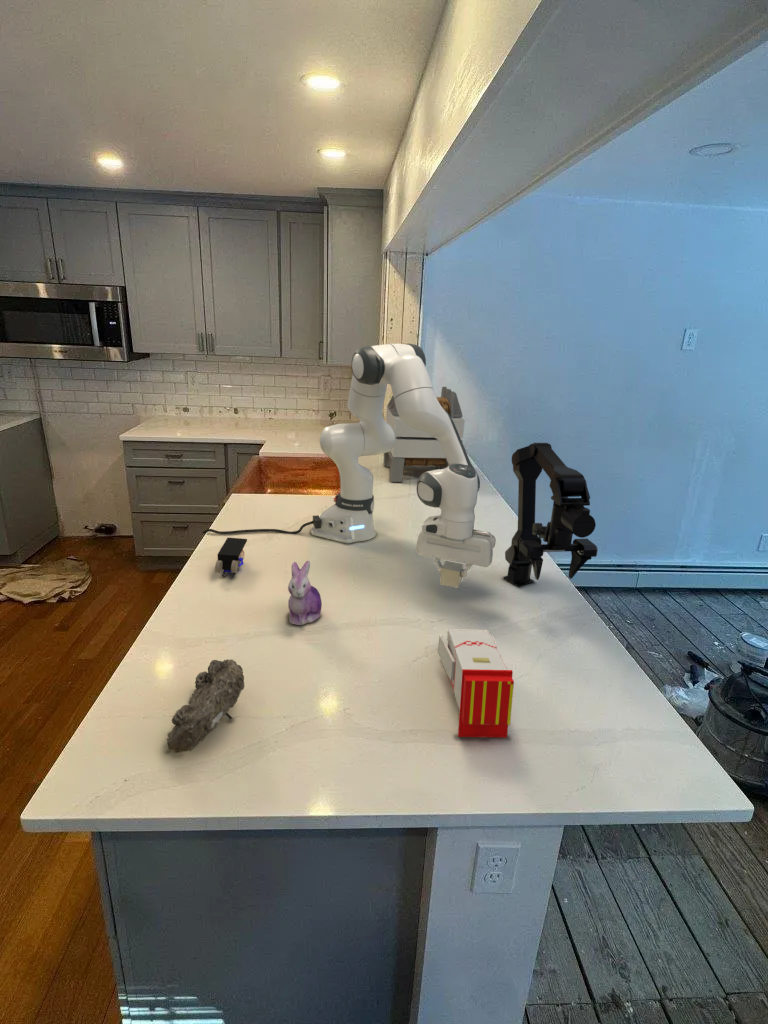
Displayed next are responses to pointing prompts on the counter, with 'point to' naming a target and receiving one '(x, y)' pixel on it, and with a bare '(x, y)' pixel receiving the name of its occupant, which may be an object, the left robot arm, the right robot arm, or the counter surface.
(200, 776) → the counter surface
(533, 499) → the right robot arm
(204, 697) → the fossil
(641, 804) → the counter surface
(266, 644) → the counter surface
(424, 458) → the transformer
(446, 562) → the beige cube
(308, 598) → the figurine
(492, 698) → the toy
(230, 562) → the figurine character
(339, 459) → the left robot arm
